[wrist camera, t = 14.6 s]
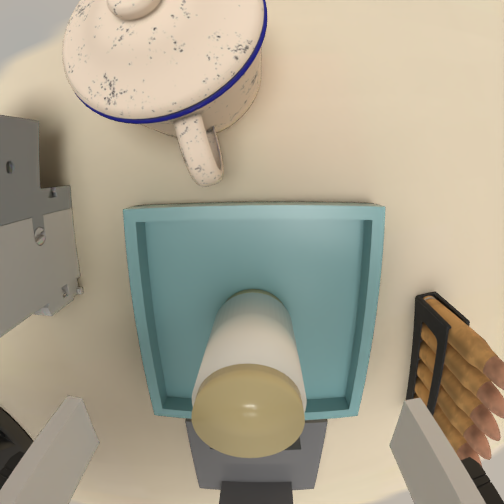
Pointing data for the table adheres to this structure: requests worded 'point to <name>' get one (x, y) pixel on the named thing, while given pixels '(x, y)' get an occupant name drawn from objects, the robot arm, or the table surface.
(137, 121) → the teacup with lid
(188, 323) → the parts tray
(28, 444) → the robot arm
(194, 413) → the cylinder
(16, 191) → the circuit breaker
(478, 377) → the ammunition clip
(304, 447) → the grey square holder base
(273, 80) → the table surface
